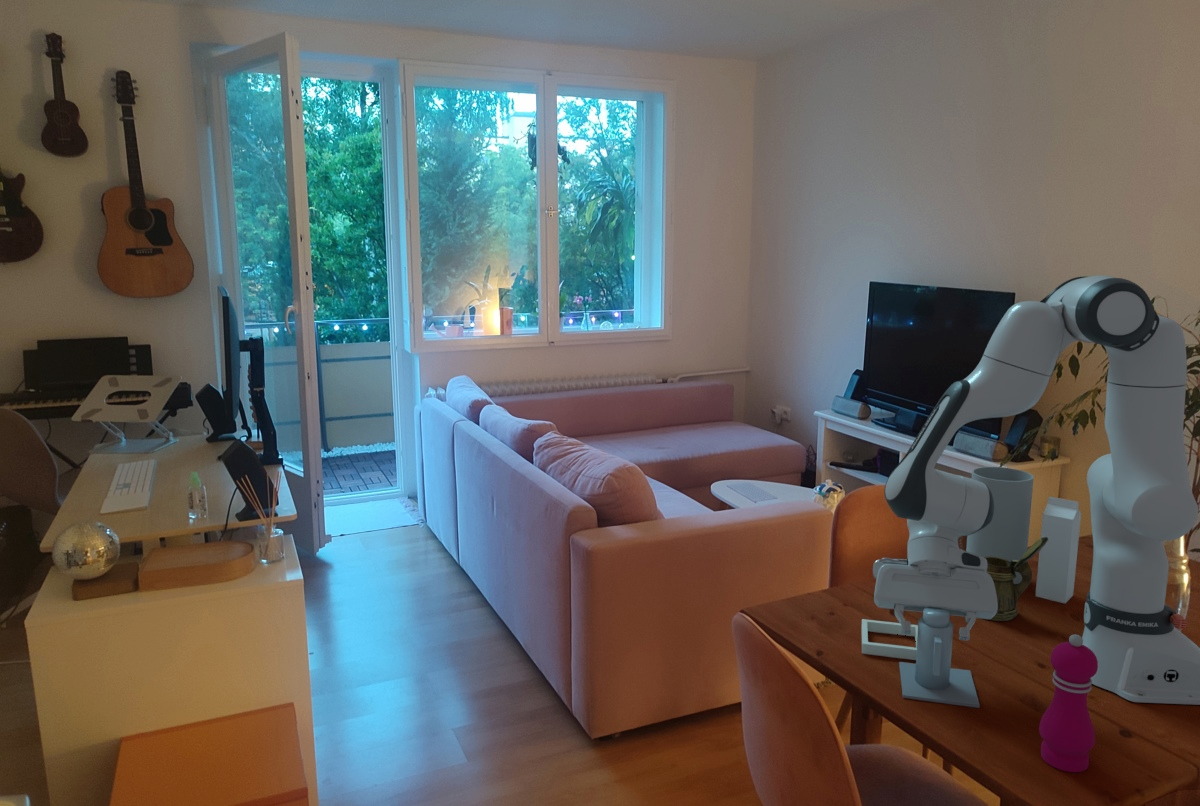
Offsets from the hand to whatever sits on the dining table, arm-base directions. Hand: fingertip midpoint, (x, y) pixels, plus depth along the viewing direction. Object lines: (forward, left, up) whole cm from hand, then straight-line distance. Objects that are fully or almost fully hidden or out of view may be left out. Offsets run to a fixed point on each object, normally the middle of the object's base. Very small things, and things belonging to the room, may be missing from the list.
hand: (934, 636), depth 143 cm
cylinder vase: (-18, -55, -10) cm, 58 cm away
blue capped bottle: (0, +1, -9) cm, 9 cm away
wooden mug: (-17, -35, -10) cm, 40 cm away
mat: (-1, -1, -9) cm, 9 cm away
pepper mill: (-17, +17, -10) cm, 26 cm away
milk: (-29, -48, -10) cm, 57 cm away
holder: (+6, -15, -9) cm, 18 cm away
